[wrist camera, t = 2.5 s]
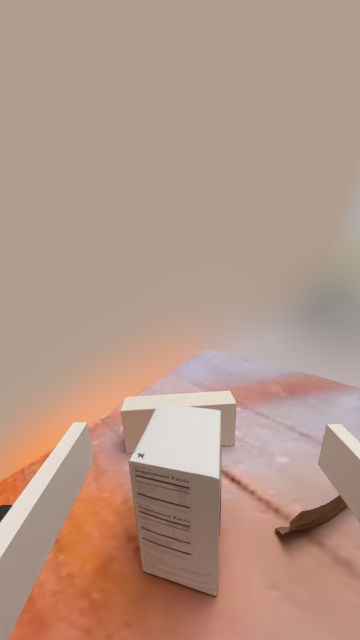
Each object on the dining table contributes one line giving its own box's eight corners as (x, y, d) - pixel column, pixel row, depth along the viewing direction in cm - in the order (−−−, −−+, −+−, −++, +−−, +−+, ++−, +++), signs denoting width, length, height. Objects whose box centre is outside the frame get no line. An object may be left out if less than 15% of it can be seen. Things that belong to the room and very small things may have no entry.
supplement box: (218, 600, 20) (221, 484, 16) (140, 573, 22) (125, 464, 18) (220, 499, 29) (222, 408, 25) (164, 486, 32) (157, 400, 27)
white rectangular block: (234, 445, 38) (236, 403, 36) (126, 453, 38) (120, 410, 35) (228, 429, 42) (229, 390, 40) (130, 436, 42) (125, 397, 39)
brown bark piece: (348, 487, 31) (354, 463, 29) (364, 501, 29) (371, 476, 27) (274, 532, 26) (278, 505, 24) (287, 552, 24) (292, 525, 23)
